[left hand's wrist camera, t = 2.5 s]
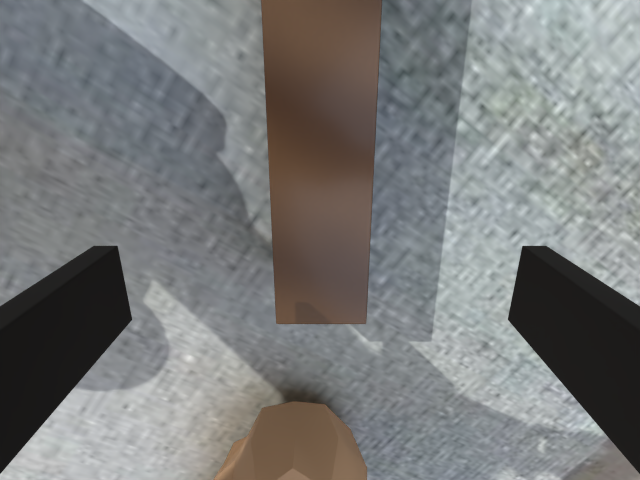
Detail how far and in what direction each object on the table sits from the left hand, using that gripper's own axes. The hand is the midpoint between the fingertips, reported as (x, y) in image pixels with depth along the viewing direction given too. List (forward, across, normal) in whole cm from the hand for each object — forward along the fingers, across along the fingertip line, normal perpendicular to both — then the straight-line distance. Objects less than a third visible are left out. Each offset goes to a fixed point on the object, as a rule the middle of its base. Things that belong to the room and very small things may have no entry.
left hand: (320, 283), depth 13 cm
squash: (+14, +5, +25) cm, 29 cm away
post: (+14, 0, -34) cm, 37 cm away
